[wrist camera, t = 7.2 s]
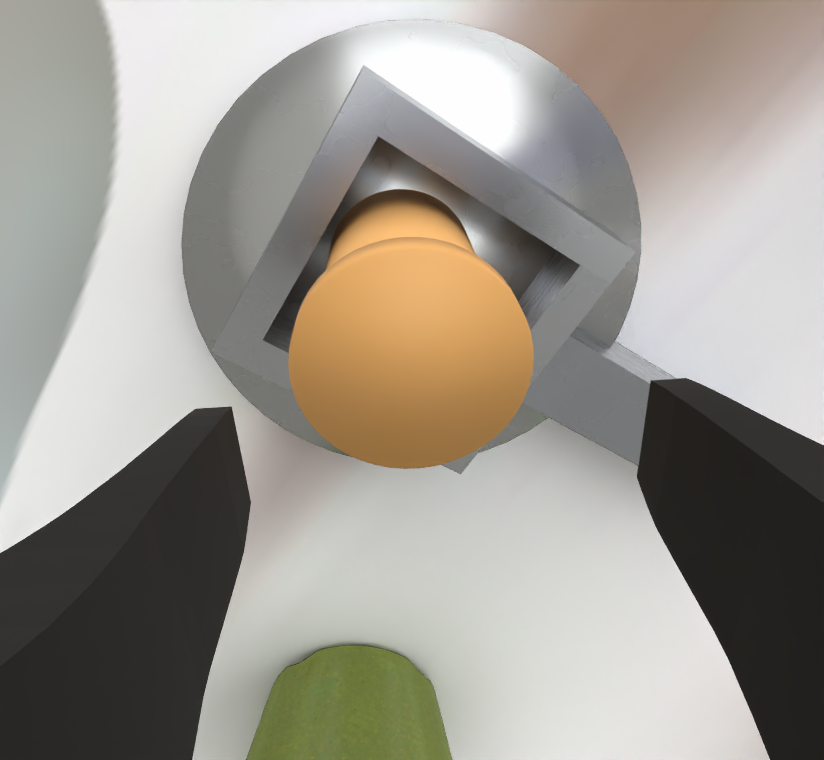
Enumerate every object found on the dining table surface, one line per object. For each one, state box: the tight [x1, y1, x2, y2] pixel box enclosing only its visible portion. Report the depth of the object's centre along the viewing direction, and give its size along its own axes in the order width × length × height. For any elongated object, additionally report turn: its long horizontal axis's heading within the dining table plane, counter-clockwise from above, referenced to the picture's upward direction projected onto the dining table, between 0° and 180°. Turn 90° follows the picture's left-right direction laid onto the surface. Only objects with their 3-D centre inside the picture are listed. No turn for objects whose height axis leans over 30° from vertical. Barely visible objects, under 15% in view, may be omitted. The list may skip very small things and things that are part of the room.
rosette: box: [182, 19, 676, 474], centre depth 20 cm, size 20×13×3 cm, turn 58°
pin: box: [288, 189, 534, 469], centre depth 16 cm, size 5×5×7 cm
